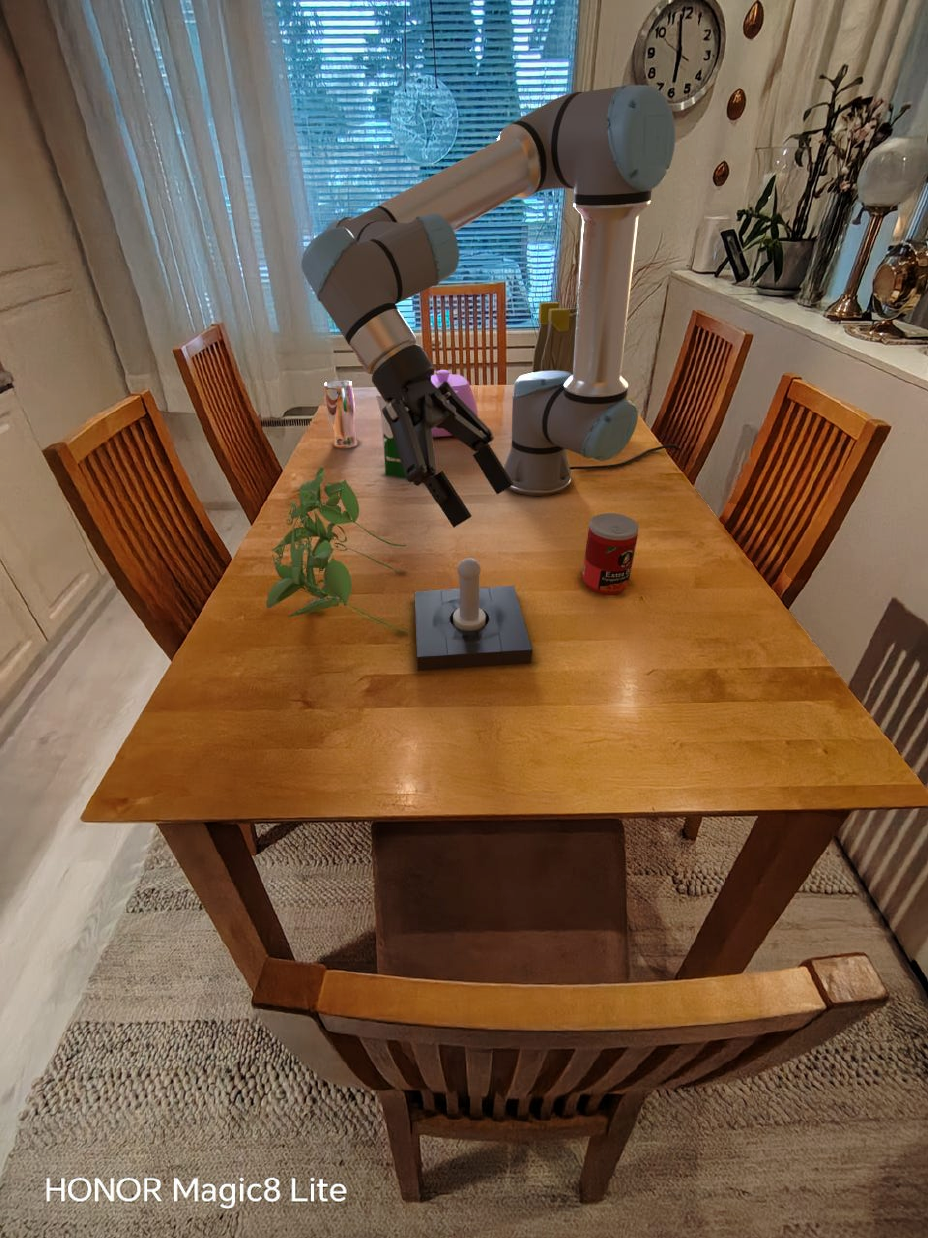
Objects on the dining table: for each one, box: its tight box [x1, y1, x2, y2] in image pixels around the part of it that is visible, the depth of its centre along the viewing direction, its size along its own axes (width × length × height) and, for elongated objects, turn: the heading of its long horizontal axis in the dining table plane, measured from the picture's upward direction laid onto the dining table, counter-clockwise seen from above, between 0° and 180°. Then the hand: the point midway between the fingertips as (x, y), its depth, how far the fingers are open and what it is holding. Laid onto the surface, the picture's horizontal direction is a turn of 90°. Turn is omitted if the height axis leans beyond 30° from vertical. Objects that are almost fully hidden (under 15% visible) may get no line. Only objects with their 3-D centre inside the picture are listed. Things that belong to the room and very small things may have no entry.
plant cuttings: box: [265, 466, 410, 634], centre depth 90 cm, size 35×17×22 cm
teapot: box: [431, 369, 479, 438], centre depth 151 cm, size 23×21×15 cm
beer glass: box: [323, 379, 359, 449], centre depth 146 cm, size 7×7×15 cm
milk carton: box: [375, 393, 415, 479], centre depth 131 cm, size 9×9×20 cm
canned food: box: [581, 512, 640, 595], centre depth 96 cm, size 8×8×11 cm
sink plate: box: [413, 585, 533, 671], centre depth 88 cm, size 16×16×2 cm
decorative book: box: [531, 301, 577, 375], centre depth 149 cm, size 20×11×30 cm, turn 98°
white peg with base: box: [453, 557, 486, 631], centre depth 85 cm, size 5×5×13 cm
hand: (485, 504), depth 77 cm, fingers open, 13 cm apart
